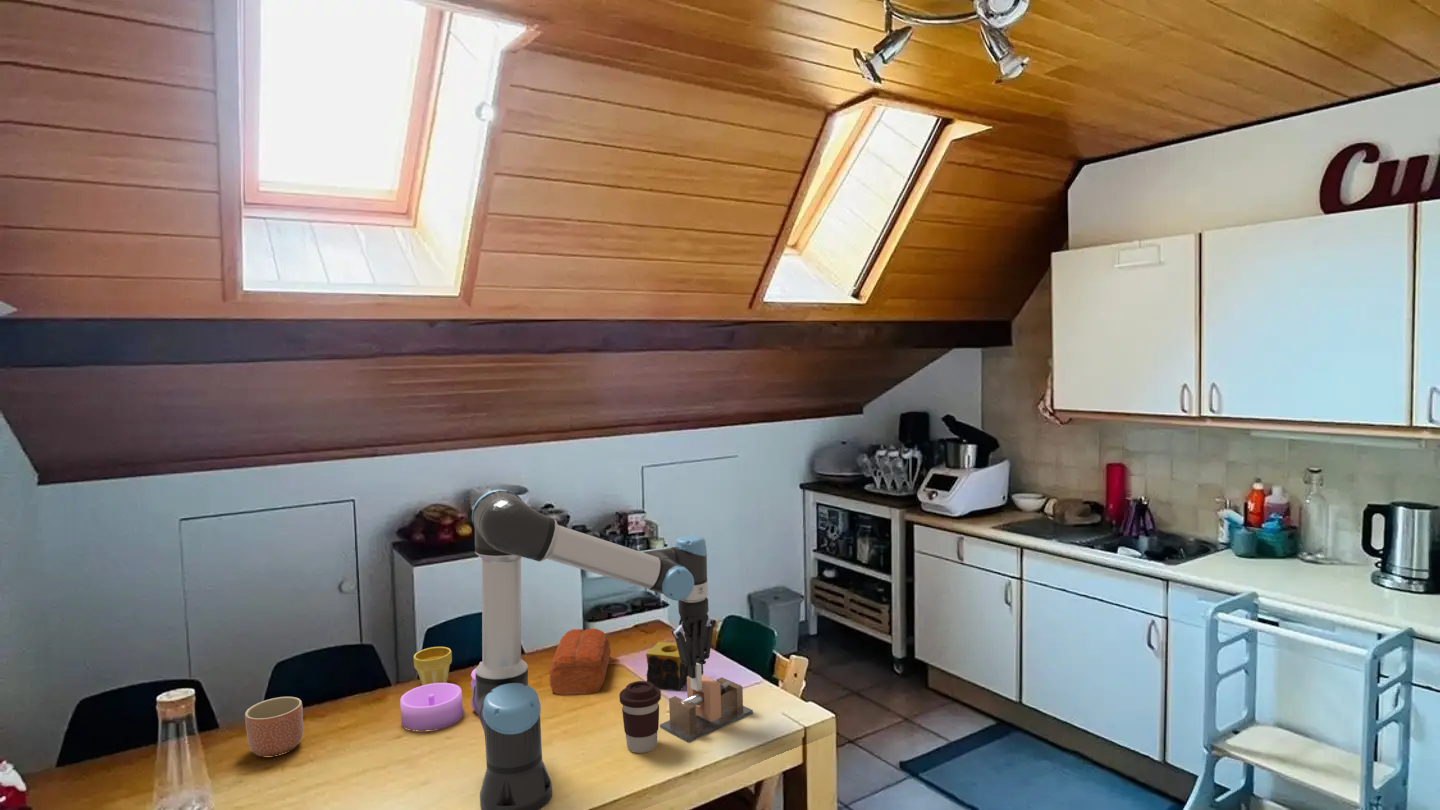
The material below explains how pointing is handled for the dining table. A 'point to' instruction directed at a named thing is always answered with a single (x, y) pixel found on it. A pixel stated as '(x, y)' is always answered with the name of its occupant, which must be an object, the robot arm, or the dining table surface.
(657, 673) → the candle
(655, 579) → the robot arm
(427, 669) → the plant pot
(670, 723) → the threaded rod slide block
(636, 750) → the coffee cup
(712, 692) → the collar
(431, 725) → the container set
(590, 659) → the bread
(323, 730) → the dining table surface
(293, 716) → the planter
